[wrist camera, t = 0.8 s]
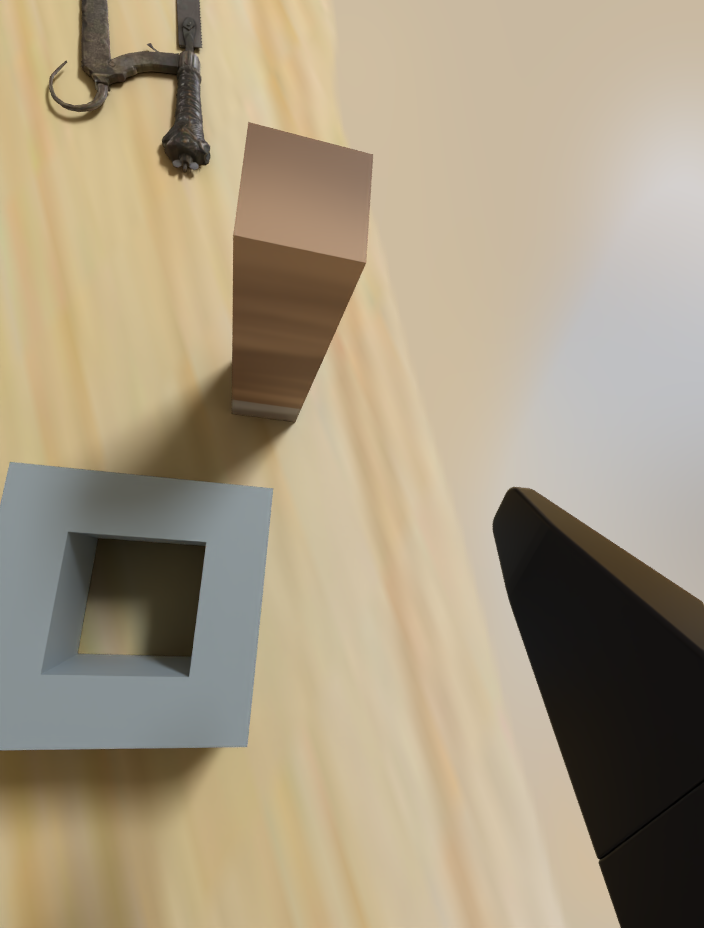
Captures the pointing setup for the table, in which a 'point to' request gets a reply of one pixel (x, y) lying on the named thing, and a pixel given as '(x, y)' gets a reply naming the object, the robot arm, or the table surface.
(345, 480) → the table surface
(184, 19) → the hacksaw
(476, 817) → the table surface
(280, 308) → the tan rectangular block
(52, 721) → the holder
